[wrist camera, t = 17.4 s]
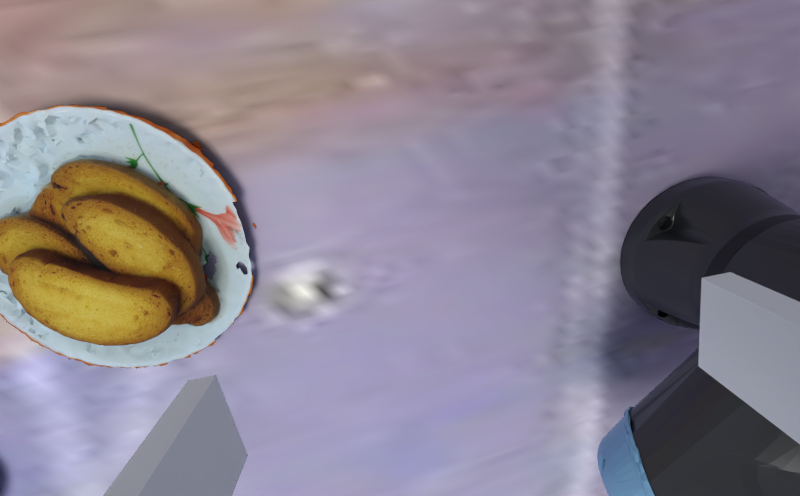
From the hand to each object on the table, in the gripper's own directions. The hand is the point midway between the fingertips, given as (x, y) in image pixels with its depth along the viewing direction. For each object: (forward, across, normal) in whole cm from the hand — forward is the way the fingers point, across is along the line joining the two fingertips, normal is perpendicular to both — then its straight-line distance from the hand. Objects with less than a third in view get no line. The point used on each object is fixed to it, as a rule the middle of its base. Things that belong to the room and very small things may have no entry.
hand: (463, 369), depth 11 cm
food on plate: (+29, -27, 0) cm, 40 cm away
